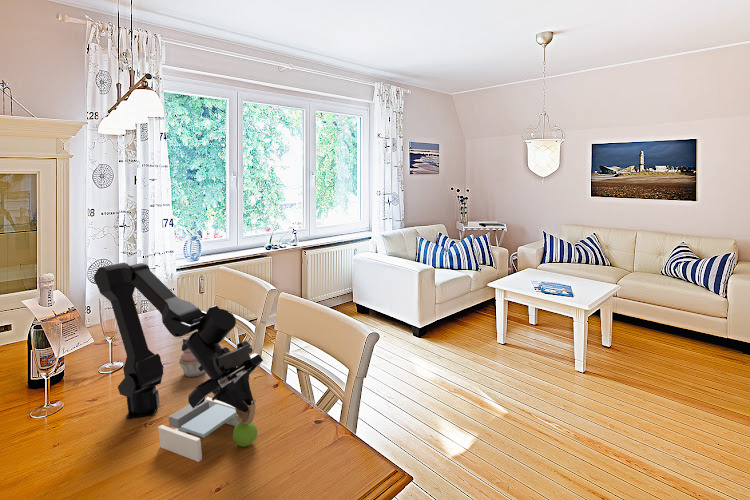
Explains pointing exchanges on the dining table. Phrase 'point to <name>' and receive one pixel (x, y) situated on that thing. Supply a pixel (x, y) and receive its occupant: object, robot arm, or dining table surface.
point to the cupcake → (190, 364)
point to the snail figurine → (245, 426)
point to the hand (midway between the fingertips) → (250, 408)
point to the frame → (187, 437)
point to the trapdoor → (201, 418)
